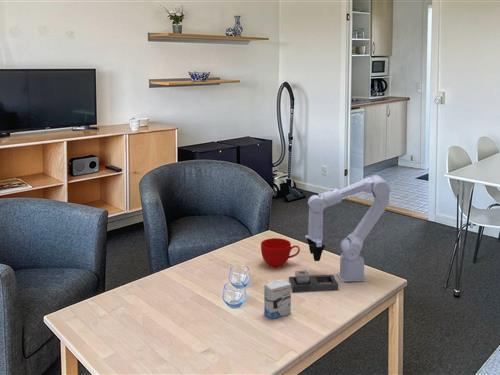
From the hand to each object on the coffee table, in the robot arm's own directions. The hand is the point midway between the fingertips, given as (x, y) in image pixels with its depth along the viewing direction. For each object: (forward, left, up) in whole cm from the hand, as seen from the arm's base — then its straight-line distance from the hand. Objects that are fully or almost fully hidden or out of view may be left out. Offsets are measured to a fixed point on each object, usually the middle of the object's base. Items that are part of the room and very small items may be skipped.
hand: (314, 257), depth 204 cm
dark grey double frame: (+2, +7, -9) cm, 12 cm away
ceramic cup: (+12, -15, -10) cm, 21 cm away
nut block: (+7, +7, -10) cm, 13 cm away
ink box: (+19, +27, -10) cm, 34 cm away
